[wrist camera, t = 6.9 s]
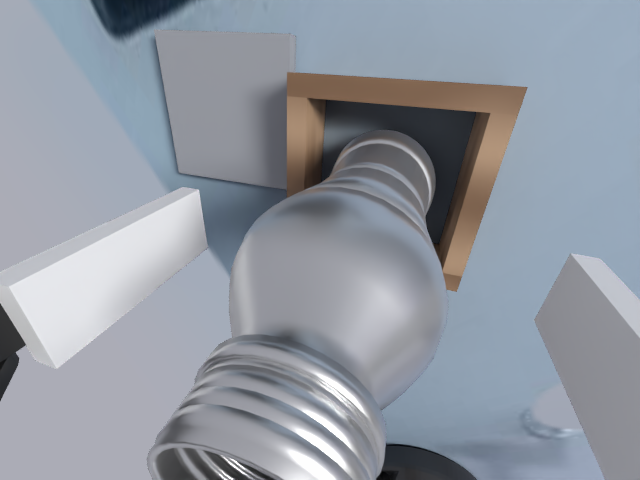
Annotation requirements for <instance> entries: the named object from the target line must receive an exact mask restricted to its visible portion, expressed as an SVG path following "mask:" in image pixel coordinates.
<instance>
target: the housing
mask: <svg viewBox="0 0 640 480" xmlns="http://www.w3.org/2000/svg"><path fill="white" fill-rule="evenodd" d="M526 90H527V87H517V86H501V85H485V84H469V83H453V82H437V81H421V80H405V79H389V78H373V77H357V76H341V75H325V74H309V73H293V72H287V198H288V197H290V196H292V195H294V194H296V193H298V192H301V191H303V190H306V189H308V188H310V187H313V186H315V185H317V184H320V183H321V176H322V159H323V142H324V125H325V108H326V99H327V100H339V101H351V102H364V103H376V104H388V105H400V106H412V107H424V108H437V109H449V110H461V111H473V112H476V116H475V119H474V123H473V126H472V130H471V133H470V137H469V140H468V144H467V147H466V151H465V154H464V158H463V162H462V165H461V169H460V172H459V176H458V179H457V183H456V186H455V190H454V193H453V197H452V200H451V204H450V207H449V211H448V214H447V218H446V221H445V225H444V229H443V232H442V236H441V239H440V243H439V244H437V243H432V244H433V246H434V249H435V251H436V254H437V256H438V259H439V261H440V263H441V267H442V272H443V276H444V280H445V285H446V290H451V291H456V292H457V289H458V286H459V284H460V281H461V278H462V275H463V272H464V269H465V266H466V263H467V260H468V258H469V255H470V252H471V249H472V246H473V243H474V240H475V237H476V234H477V232H478V229H479V226H480V223H481V220H482V217H483V214H484V211H485V209H486V206H487V203H488V200H489V197H490V194H491V191H492V188H493V185H494V183H495V180H496V177H497V174H498V171H499V168H500V165H501V162H502V159H503V157H504V154H505V151H506V148H507V145H508V142H509V139H510V136H511V133H512V131H513V128H514V125H515V122H516V119H517V116H518V113H519V110H520V108H521V105H522V102H523V99H524V96H525V93H526Z"/></svg>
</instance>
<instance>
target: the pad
mask: <svg viewBox="0 0 640 480" xmlns="http://www.w3.org/2000/svg"><path fill="white" fill-rule="evenodd" d="M154 33H155V38H156V44H157V50H158V56H159V61H160V67H161V73H162V78H163V84H164V90H165V96H166V101H167V107H168V113H169V118H170V124H171V130H172V136H173V141H174V147H175V153H176V158H177V164H178V170H179V173H184V174H190V175H196V176H203V177H209V178H215V179H222V180H228V181H234V182H241V183H247V184H253V185H259V186H266V187H272V188H278V189H285V190H287V72H293V73H295V51H296V36H294V35H292V34H278V33H246V32H214V31H182V30H154Z"/></svg>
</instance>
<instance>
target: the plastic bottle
mask: <svg viewBox="0 0 640 480" xmlns="http://www.w3.org/2000/svg"><path fill="white" fill-rule="evenodd" d="M435 183H436V177H435V171H434V167H433V164H432V162H431V159H430V157H429V156H428V154H427V153H426V151H425V150H424V148H423V147H422V146H421V145H420V144H419V143H418V142H417V141H415V140H414V139H412V138H411V137H409V136H407V135H405V134H403V133H400V132H397V131H392V130H374V131H370V132H367V133H364V134H362V135H360V136H358V137H356V138H354V139H353V140H352V141H351V142H350V143H348V144H347V145H346V147H345V148H344V149H343V150H342V152H341V153H340V155H339V157H338V159H337V161H336V163H335V165H334V167H333V170H332V173H331V175H330V176H329V177H328V178H327V179H325V180H324V181H323V182H321V183H320V184H317V185H315V186H313V187H310V188H308V189H306V190H303V191H301V192H298V193H296V194H294V195H292V196H290V197H288V198H286V199H284V200H282V201H281V202H279V203H278V204H276V205H275V206H273V207H271V208H270V209H268V210H267V211H266V212H265V213H264V214H262V215H261V216H260V217H259V218H258V219H256V220H255V222H254V223H253V225H252V226H251V228H250V229H249V230H248V232H247V233H246V235H245V237H244V239H243V241H242V244H241V246H240V248H239V250H238V252H237V255H236V257H235V260H234V263H233V265H232V268H231V276H230V290H229V315H230V324H231V332H232V338H230V339H228V340H226V341H224V342H223V343H221V344H219V345H218V346H217V347H216V348H215V350H214V351H213V352H212V353H211V354H210V356H209V357H208V358H207V360H206V361H205V362H204V364H203V365H202V366H201V368H200V369H199V371H198V373H197V376H196V378H195V385H194V386H193V388H192V389H191V391H190V392H189V393H188V395H187V396H186V397H185V399H184V400H183V401H182V403H181V404H180V406H179V407H178V408H177V410H176V411H175V412H174V414H173V415H172V417H171V418H170V419H169V421H168V422H167V424H166V425H165V426H164V427H163V429H162V430H161V431H160V433H159V434H158V436H157V438H156V441H155V444H154V446H153V447H152V448H151V449H150V451H149V453H148V457H147V465H148V470H149V472H150V474H151V477H152V479H153V480H376V478H377V477H378V475H379V474H380V473H381V470H382V467H383V464H384V457H385V447H386V424H385V421H384V418H383V415H382V412H381V410H383V409H384V408H385V407H387V406H388V405H389V404H391V403H392V402H393V401H394V400H396V399H397V398H398V397H399V396H401V395H402V394H403V393H404V392H405V391H406V390H407V389H408V388H409V387H410V386H411V385H412V384H413V383H414V382H415V381H416V380H417V379H418V378H419V377H420V375H421V374H422V373H423V372H424V371H425V370H426V368H427V367H428V365H429V364H430V363H431V361H432V360H433V358H434V355H435V353H436V350H437V347H438V345H439V342H440V339H441V337H442V334H443V331H444V328H445V325H446V322H447V315H448V296H447V291H446V285H445V280H444V276H443V272H442V267H441V263H440V261H439V259H438V256H437V254H436V251H435V249H434V246H433V244H432V241H431V238H430V236H429V233H428V231H427V226H426V219H425V217H426V214H427V212H428V210H429V208H430V205H431V203H432V200H433V196H434V192H435Z"/></svg>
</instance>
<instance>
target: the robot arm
mask: <svg viewBox="0 0 640 480" xmlns="http://www.w3.org/2000/svg"><path fill="white" fill-rule="evenodd" d="M207 248H208V245H207V239H206V232H205V226H204V220H203V213H202V207H201V201H200V194H199V190H198V189H192V188H186V187H181V188H179V189H177V190H175V191H173V192H171V193H169V194H166V195H164V196H162V197H160V198H158V199H156V200H153V201H151V202H149V203H147V204H145V205H143V206H141V207H138V208H137V209H134V210H132V211H130V212H128V213H126V214H123V215H121V216H119V217H117V218H115V219H113V220H110V221H108V222H106V223H104V224H102V225H100V226H98V227H95V228H93V229H91V230H89V231H87V232H85V233H83V234H80V235H78V236H76V237H74V238H72V239H70V240H68V241H65V242H63V243H61V244H59V245H57V246H55V247H52V248H50V249H48V250H46V251H44V252H42V253H40V254H37V255H35V256H33V257H31V258H29V259H27V260H24V261H22V262H20V263H18V264H16V265H14V266H12V267H10V268H7V269H5V270H3V271H1V272H0V400H1V398H2V396H3V394H4V392H5V390H6V388H7V386H8V384H9V382H10V380H11V378H12V376H13V374H14V372H15V370H16V368H17V366H18V363H19V357H18V356H17V354H16V353H15V352H16V351H18V350H19V349H21V348H22V347H24V346H25V345H26V347H27V348H28V350H29V351H30V353H31V355H32V356H33V358H34V359H35V361H37V362H40V363H42V364H45V365H48V366H50V367H53V368H56V369H57V368H59V367H60V366H61V365H62V364H63V363H64V362H66V361H67V360H69V359H70V358H71V357H72V356H74V355H75V354H76V353H77V352H78V351H80V350H81V349H82V348H84V347H85V346H86V345H87V344H88V343H90V342H91V341H92V340H93V339H95V338H96V337H97V336H98V335H100V334H101V333H102V332H103V331H105V330H106V329H107V328H108V327H110V326H111V325H112V324H113V323H115V322H116V321H117V320H118V319H120V318H121V317H122V316H123V315H125V314H126V313H127V312H128V311H130V310H131V309H132V308H133V307H135V306H136V305H137V304H138V303H140V302H141V301H142V300H143V299H145V298H146V297H147V296H148V295H149V294H151V293H152V292H153V291H155V290H156V289H157V288H158V287H159V286H161V285H162V284H163V283H165V282H166V281H167V280H168V279H170V278H171V277H172V276H173V275H175V274H176V273H177V272H178V271H179V270H181V269H182V268H183V267H185V266H186V265H187V264H188V263H190V262H191V261H192V260H193V259H194V258H196V257H197V256H198V255H200V254H201V253H202V252H203V251H205V250H206V249H207ZM534 321H535V323H536V325H537V328H538V330H539V332H540V334H541V337H542V339H543V341H544V343H545V346H546V348H547V350H548V352H549V354H550V357H551V359H552V361H553V363H554V366H555V368H556V370H557V372H558V375H559V377H560V379H561V381H562V384H563V386H564V388H565V390H566V393H567V395H568V397H569V399H570V401H571V404H572V406H573V408H574V410H575V413H576V415H577V417H578V419H579V422H580V424H581V426H582V428H583V431H584V433H585V435H586V437H587V440H588V442H589V444H590V446H591V449H592V451H593V453H594V455H595V458H596V460H597V462H598V464H599V467H600V469H601V471H602V473H603V475H604V478H605V480H640V300H639V299H638V298H637V297H636V296H635V295H634V294H633V293H632V291H631V290H630V289H629V288H628V287H627V286H626V285H625V284H624V283H623V282H622V281H621V280H620V279H619V278H618V277H617V276H616V275H615V274H614V273H613V272H612V270H611V269H610V268H609V267H608V266H607V265H606V264H605V263H604V262H603V261H602V260H601V259H600V258H594V257H588V256H583V255H577V254H570V256H569V257H568V259H567V261H566V263H565V265H564V266H563V268H562V270H561V272H560V274H559V276H558V277H557V279H556V281H555V283H554V285H553V287H552V288H551V290H550V292H549V294H548V296H547V297H546V299H545V301H544V303H543V305H542V307H541V308H540V310H539V312H538V314H537V316H536V318H535V319H534ZM376 480H477V479H476V478H475V477H474V476H473V475H472V474H471V473H469V472H468V471H467V470H466V469H464V468H463V467H461V466H460V465H458V464H456V463H455V462H453V461H451V460H449V459H447V458H445V457H442V456H440V455H437V454H435V453H432V452H429V451H425V450H422V449H417V448H412V447H405V446H386V447H385V457H384V464H383V467H382V470H381V473H380V474H379V475H378V477H377V478H376Z"/></svg>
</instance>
